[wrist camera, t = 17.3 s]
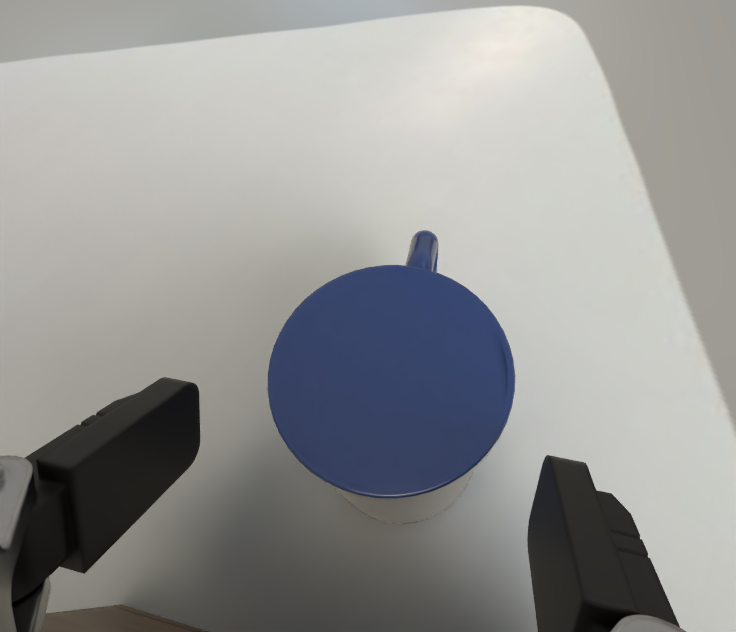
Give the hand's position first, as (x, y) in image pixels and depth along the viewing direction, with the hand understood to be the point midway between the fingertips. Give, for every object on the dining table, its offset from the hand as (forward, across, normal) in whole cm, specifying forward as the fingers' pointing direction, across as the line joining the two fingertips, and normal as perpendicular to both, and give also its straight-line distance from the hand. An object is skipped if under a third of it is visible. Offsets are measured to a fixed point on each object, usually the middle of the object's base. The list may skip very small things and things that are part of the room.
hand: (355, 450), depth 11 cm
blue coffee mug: (+8, 0, +3) cm, 9 cm away
